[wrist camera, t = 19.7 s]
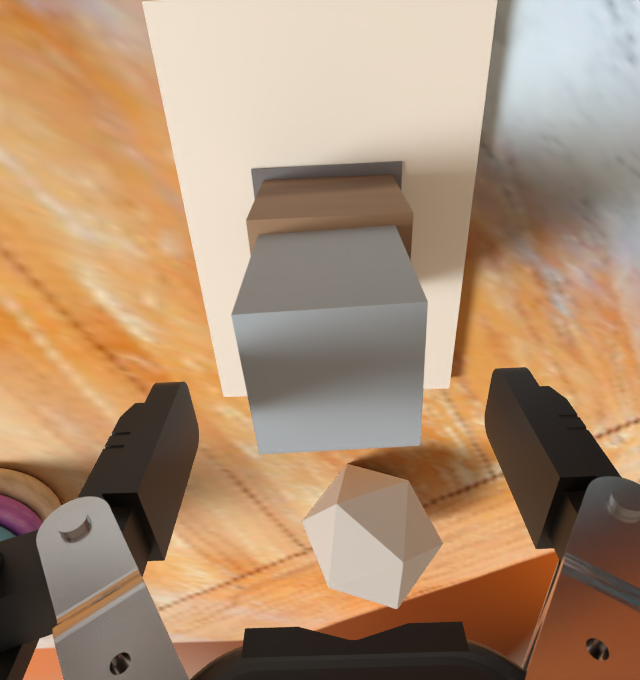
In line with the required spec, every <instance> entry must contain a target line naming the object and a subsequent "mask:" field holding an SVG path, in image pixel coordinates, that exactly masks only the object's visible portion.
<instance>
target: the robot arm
mask: <svg viewBox="0 0 640 680" xmlns="http://www.w3.org/2000/svg"><path fill="white" fill-rule="evenodd" d="M485 429H486V433H487V437H488V439H489V441H490V444H491V446H492V448H493V451H494V453H495V455H496V458H497V460H498V462H499V465H500V467H501V469H502V472H503V474H504V476H505V478H506V481H507V483H508V485H509V488H510V490H511V492H512V495H513V497H514V499H515V502H516V504H517V506H518V509H519V511H520V513H521V515H522V518H523V520H524V522H525V525H526V527H527V529H528V532H529V534H530V536H531V539H532V541H533V543H534V546H535V548H536V549H548V548H554V549H555V551H556V553H557V556H558V558H559V562H558V564H557V567H556V570H555V573H554V576H553V578H552V582H551V584H550V587H549V590H548V593H547V596H546V599H545V602H544V605H543V608H542V611H541V614H540V616H539V620H538V623H537V625H536V628H535V631H534V634H533V637H532V640H531V643H530V645H529V648H528V651H527V653H526V656H525V659H524V662H523V665H522V667H520V666H518V665H517V664H516V663H515V662H513V661H512V660H510V659H509V658H507V657H505V656H504V655H503V654H501V653H499V652H497V651H495V650H493V649H491V648H489V647H487V646H485V645H482V644H479V643H477V642H474V641H471V640H467V639H466V636H465V632H464V628H463V624H462V622H437V623H409V624H405V625H402V626H399V627H396V628H393V629H390V630H387V631H384V632H381V633H378V634H375V635H371V636H369V637H365V638H362V639H359V640H347V639H343V638H339V637H335V636H331V635H328V634H323V633H320V632H316V631H312V630H308V629H304V628H300V627H278V628H247V629H245V633H244V641H243V646H242V647H239V648H236V649H233V650H231V651H229V652H227V653H225V654H223V655H221V656H220V657H218V658H216V659H215V660H213V661H212V662H210V663H209V664H207V665H206V666H205V667H204V668H202V669H201V670H200V671H199V672H197V673H196V674H195V675H194V676H193V677H192V678H191V679H190V680H640V484H638V483H636V482H633V481H631V480H628V479H625V478H622V477H621V476H620V475H619V473H618V472H617V470H616V469H615V467H614V466H613V465H612V463H611V462H610V460H609V459H608V457H607V456H606V455H605V453H604V452H603V450H602V449H601V447H600V446H599V445H598V443H597V442H596V440H595V439H594V437H593V436H592V435H591V433H590V432H589V430H586V426H585V425H584V423H583V422H582V420H581V419H580V417H577V413H576V412H575V410H574V409H573V407H572V406H571V405H570V403H569V402H568V400H567V399H566V398H565V397H563V396H562V395H560V394H559V393H558V392H556V391H555V390H554V389H552V388H551V387H550V386H539V385H538V383H537V382H536V380H535V379H534V377H533V375H532V374H531V372H530V371H529V370H528V369H527V368H525V367H522V368H500V369H495V370H494V371H493V374H492V378H491V384H490V389H489V394H488V400H487V405H486V410H485ZM198 442H199V429H198V423H197V419H196V415H195V412H194V408H193V404H192V400H191V396H190V393H189V389H188V386H187V384H186V383H185V382H167V383H155V384H154V385H153V387H152V389H151V391H150V393H149V395H148V397H147V399H146V401H145V403H135V404H134V405H133V406H132V407H131V408H130V409H128V410H127V411H126V412H125V413H124V414H123V415H122V416H121V417H120V418H119V420H118V422H117V424H116V426H115V428H114V430H113V432H112V436H110V437H109V439H108V441H107V443H106V445H105V449H103V451H102V453H101V454H100V456H99V458H98V460H97V462H96V464H95V466H94V468H93V470H92V472H91V473H90V475H89V477H88V479H87V481H86V483H85V485H84V487H83V489H82V491H81V492H80V494H79V496H78V498H77V499H74V500H71V501H69V502H67V503H65V504H63V505H62V506H60V507H59V508H57V509H56V510H54V511H53V512H52V513H51V514H50V515H49V516H48V517H47V518H46V519H45V520H44V522H43V523H42V525H41V526H40V528H39V529H38V530H35V531H32V532H29V533H26V534H22V535H19V536H16V537H13V538H9V539H6V540H3V541H0V680H23V677H24V675H25V672H26V670H27V667H28V665H29V663H30V660H31V658H32V655H33V653H34V650H35V648H36V646H37V643H38V641H39V638H42V637H45V636H48V635H50V634H53V638H54V643H55V647H56V651H57V655H58V659H59V663H60V667H61V671H62V674H63V679H64V680H189V678H188V676H187V674H186V672H185V669H184V667H183V665H182V663H181V661H180V659H179V656H178V654H177V652H176V650H175V648H174V646H173V643H172V641H171V639H170V637H169V635H168V632H167V630H166V628H165V626H164V624H163V621H162V619H161V617H160V615H159V613H158V610H157V608H156V606H155V604H154V602H153V600H152V597H151V595H150V593H149V591H148V589H147V586H146V584H145V582H144V580H143V578H142V577H143V574H144V571H145V567H146V564H147V561H163V560H165V557H166V553H167V550H168V546H169V543H170V540H171V536H172V533H173V530H174V526H175V523H176V519H177V516H178V513H179V509H180V506H181V502H182V499H183V496H184V492H185V489H186V486H187V482H188V479H189V475H190V472H191V469H192V465H193V462H194V459H195V455H196V452H197V448H198Z"/></svg>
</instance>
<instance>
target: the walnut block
mask: <svg viewBox="0 0 640 680" xmlns="http://www.w3.org/2000/svg"><path fill="white" fill-rule="evenodd" d="M413 214H414V212H413V211H412V209H411V207H410V205H409V204H408V202H407V200H406V198H405V197H404V195H403V193H402V191H401V190H400V188H399V186H398V184H397V183H396V181H395V179H394V177H393V176H392V174H383V175H362V176H341V177H320V178H299V179H278V180H263V182H262V184H261V187H260V189H259V191H258V194H257V196H256V198H255V200H254V203H253V205H252V207H251V210H250V212H249V214H248V217H247V219H246V225H247V232H248V240H249V247H250V255H251V254H252V251H253V248H254V245H255V242H256V239H257V236H258V235H266V234H280V233H293V232H307V231H321V230H334V229H348V228H362V227H375V226H389V225H395V226H396V228H397V230H398V233H399V235H400V237H401V240H402V242H403V244H404V247H405V249H406V251H407V254H408V256H409V258H410V261H411V246H412V230H413Z"/></svg>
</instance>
